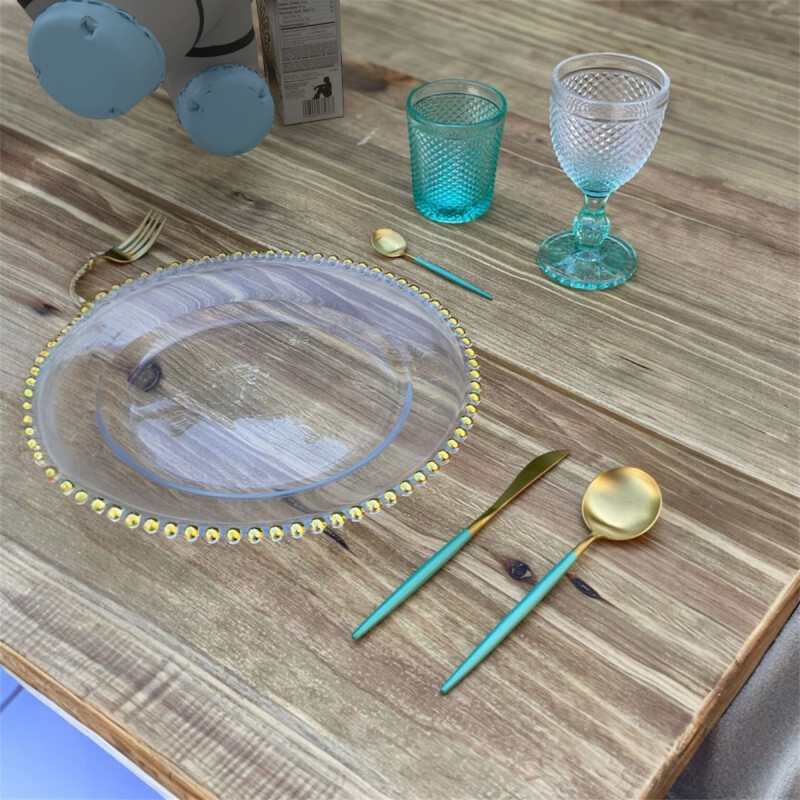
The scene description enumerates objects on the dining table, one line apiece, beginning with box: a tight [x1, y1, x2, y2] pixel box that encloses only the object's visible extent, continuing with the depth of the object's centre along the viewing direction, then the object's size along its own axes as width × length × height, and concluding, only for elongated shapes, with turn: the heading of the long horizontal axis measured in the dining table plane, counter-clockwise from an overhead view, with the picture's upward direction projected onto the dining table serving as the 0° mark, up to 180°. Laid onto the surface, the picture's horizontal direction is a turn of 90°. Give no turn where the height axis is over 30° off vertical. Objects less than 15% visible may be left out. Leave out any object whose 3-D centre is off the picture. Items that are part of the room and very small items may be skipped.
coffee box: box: [255, 0, 345, 126], centre depth 88 cm, size 9×6×16 cm
